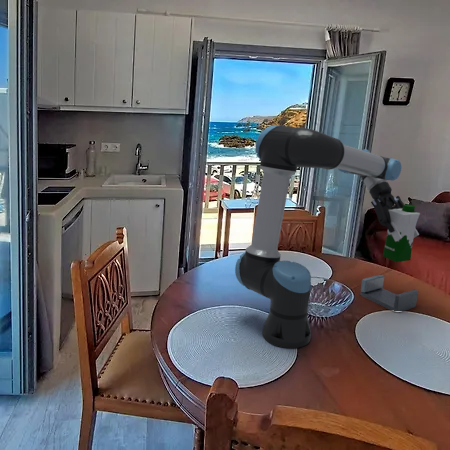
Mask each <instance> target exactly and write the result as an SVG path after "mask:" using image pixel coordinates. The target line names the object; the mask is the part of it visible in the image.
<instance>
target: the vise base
mask: <svg viewBox="0 0 450 450" xmlns="http://www.w3.org/2000/svg"><path fill="white" fill-rule="evenodd" d="M360 296H361V297H363V298H365V299H367V300H369V301H371V302H373V303H375V304H377V305H379V306H381V307H384V308H385V309H387V310H389V311H391V310H394V311H402V312H405V311H408V310H411V309H414V308H416V307H417V301H418V296H419V290H416V289H413V290H408V291H405V292H402V293H398V294H396V293H395V292H391V290H388V289H385V288H384V287H383V288H379V289H375V290H372V291H368V292H362V291H360Z"/></svg>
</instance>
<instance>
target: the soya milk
mask: <svg viewBox="0 0 450 450" xmlns="http://www.w3.org/2000/svg"><path fill="white" fill-rule="evenodd" d="M415 207H416V206H415V205H413V204H408V203H406V204H405V203H404V205H403V208H402V209H393V210H391V209H389V213H390V218H391V222H394V224H395V226H396V228H397V229H398V231H399V233H400V235H401V236H402V238H401V239H400V240H398V241H396V242H395V240H394V238H393V236H392V235H391V233H390V232H389V230H388V229H387V232H386V238H385V244H384V248H383V252H382V256H381V257H383V258H386V259H387V260H390V261H393V262H395V263H400V262H408V261H411V259H412V250H413V244H414V232H415V228H417V227H416V226H417V222H418V220H419V217H420V215H421V213H420V212H417V211H415V209H416V208H415ZM391 222H390V223H391Z"/></svg>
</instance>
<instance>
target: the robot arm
mask: <svg viewBox="0 0 450 450" xmlns="http://www.w3.org/2000/svg"><path fill="white" fill-rule="evenodd" d="M254 148H255V153H256V156H257V158H258V159H259V160H260V164H259V167H260V169H261V170H262V172H263V174H262V179H261V180H262V181H261V187H260V193H259V198H258V205H257V210H256V213H255V214H256V216H255V221H254V227H253V232H252V237H251V238H252V239H251V244H250V245H249V246H247V247H246V248H245V250H244V251H245V252H243V253H242V254H241V255H240V256H239V258H237V260H236V262H235V263H236V264H235V268H234V273H235V274H234V275H235V278H236V280H237V281H238V282H239V284H241V286H243V287H245V288H246V289H247V290H250V291H252V292H255V293H256V294H258V295H261V296H262V297H265V298H267V299H269V300H270V304H269V305H270V307H269V313H268V314H267V317H266V320H264V323H263V327H262V337H263V339H264V340H265V341H267V342H268V343H270V344H272V345H274V346H276V347H280V348H283V349H298V348H302V347H305V346H307V345H308V344H309V343H310V342H311V336H312V331H311V327H310V323H309V322H310V321H309V318H308V312H309V311H308V310H309V303H310V295H311V293H310V292H311V288H312V282H311V281H312V276H311V272H310V270H309V269H308V268H307V267H306V265H305V266H304V265H302V263H300V262H296V261H290V260H281V257H282V256H281V253H280V252H279V250H278V247H279V242H280V236H281V230H282V224H283V218H284V214H285V209H286V208H285V207H286V203H287V197H288V191H289V186H290V183H291V182H290V180H291V177H292V176H293V175H295V174H296V173H297V169H298V168H305V169H307V168H310V169H311V168H312V169H324V170H327V171H328V170H329V171H331V170H335V169H337V170H338V171H339V172H341V173H344V174H351V175H357V176H360V178H361V180H362V182H363V184H364V186H365V187H366V188H367V190H368V191H369V195H370V196H371V198H372V201H371V202H370V203H371V205H372V207H373V208H374V211H375V214H376V216H377V219H378V223H379V225H382V226H383V227H386V228H387V231H388V230H389V232H390V233H391V235H392V236H393V238H394V240H395V242H396V241H398V240H400V239H401V238H402V236H401V235H400V233H399V231H398V229H397V228H396V226H395V224H394V222H391V218H390V213H389V210H393V209H402V208H403V205H404V204H405V203H404V202H403V200H402V199H401V197H400V196H399V195H397V196H394V195H393V194H392V187H391V185H390V184H389V182H388V181H391V182H393V181H396V180H397V179H398V178H399V176H400V175H401V171H402V163H401V161H400V160H399V159H395V158H392V157H386V156H382V155H379V154H376V153H372V152H371V151H370V150H369V149H366V148H364V149H359V148H356V147H354V146H353V147H352V146H350V145H347V144H344V142H342V141H341V140H340V139H339V138H336V137H333V136H331V135H328V134H326V133H323V132H320V131H317V130H315V129H312V128H306V127H297V126H289V125H287V126H286V125H270V126H268V127H266V128H265V129H263V130H262V131H261V132H260V134H259V135H258V137H257V140H256V142H255V147H254ZM390 222H391V223H390ZM416 228H417V227H415V232H414V238H416V237H418V236H419V235H420V233H419V232H418V229H416ZM414 238H413V239H414Z"/></svg>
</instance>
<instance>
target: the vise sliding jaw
mask: <svg viewBox="0 0 450 450" xmlns="http://www.w3.org/2000/svg"><path fill="white" fill-rule="evenodd" d="M384 281H385V275H383V274H378V275H373V276H370V277H366V278H365V277H364V278H363V279H361V287H360V292H368V291H372V290H375V289H379V288H383V289H384Z"/></svg>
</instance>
